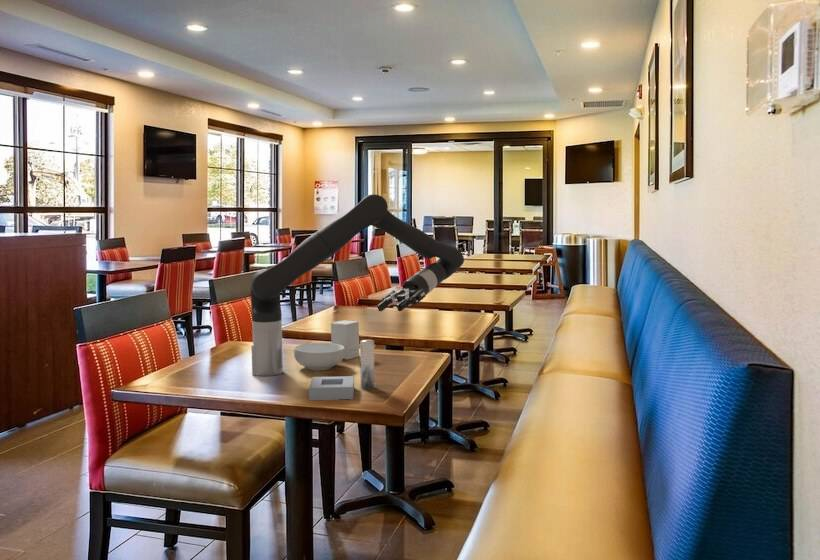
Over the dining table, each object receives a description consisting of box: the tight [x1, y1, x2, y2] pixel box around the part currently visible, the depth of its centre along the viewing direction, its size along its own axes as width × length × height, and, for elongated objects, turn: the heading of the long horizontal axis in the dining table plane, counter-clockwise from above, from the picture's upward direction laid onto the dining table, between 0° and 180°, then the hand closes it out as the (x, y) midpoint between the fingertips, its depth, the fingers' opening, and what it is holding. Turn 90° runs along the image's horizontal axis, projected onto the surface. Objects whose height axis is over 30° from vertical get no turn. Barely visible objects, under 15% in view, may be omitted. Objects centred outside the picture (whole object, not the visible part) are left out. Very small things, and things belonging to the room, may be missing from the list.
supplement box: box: [330, 319, 360, 360], centre depth 232 cm, size 7×7×13 cm
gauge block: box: [308, 375, 355, 401], centre depth 185 cm, size 12×12×4 cm
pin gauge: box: [359, 339, 375, 390], centre depth 191 cm, size 4×4×14 cm
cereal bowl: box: [293, 342, 345, 371], centre depth 216 cm, size 17×17×7 cm
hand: (388, 308), depth 198 cm, fingers open, 8 cm apart
